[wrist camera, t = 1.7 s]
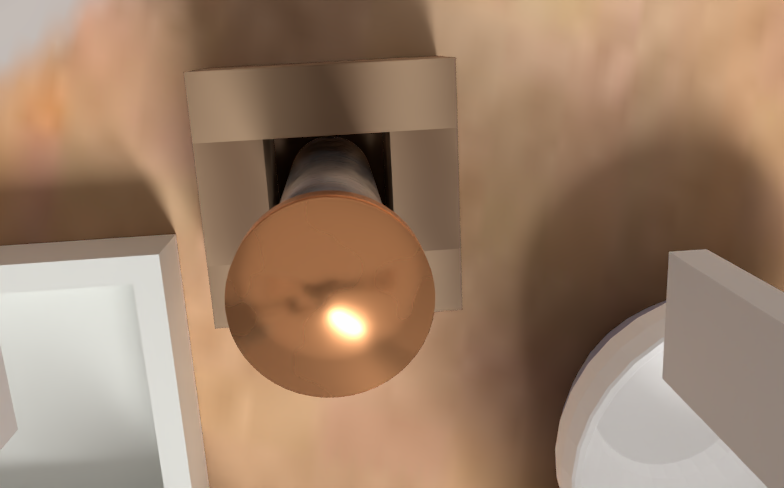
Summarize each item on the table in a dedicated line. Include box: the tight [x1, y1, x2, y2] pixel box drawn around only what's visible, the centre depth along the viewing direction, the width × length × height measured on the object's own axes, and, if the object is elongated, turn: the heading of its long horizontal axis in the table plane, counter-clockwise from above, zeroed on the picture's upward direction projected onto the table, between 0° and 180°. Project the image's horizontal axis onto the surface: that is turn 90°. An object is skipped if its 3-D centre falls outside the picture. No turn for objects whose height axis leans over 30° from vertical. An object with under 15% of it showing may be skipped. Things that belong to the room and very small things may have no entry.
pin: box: [224, 136, 435, 398], centre depth 25 cm, size 5×5×17 cm
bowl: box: [555, 301, 767, 488], centre depth 34 cm, size 14×14×8 cm
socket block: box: [184, 56, 462, 329], centre depth 31 cm, size 10×10×5 cm
